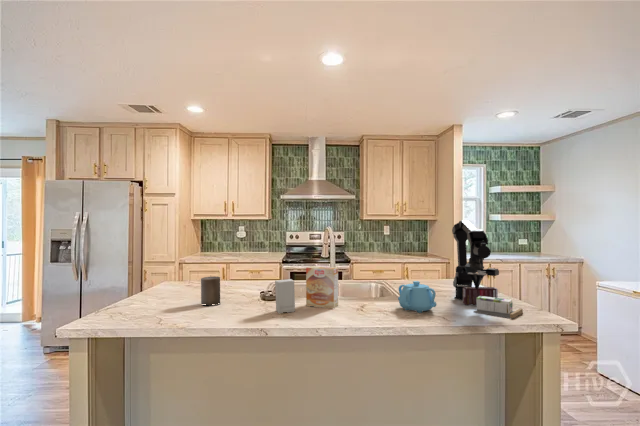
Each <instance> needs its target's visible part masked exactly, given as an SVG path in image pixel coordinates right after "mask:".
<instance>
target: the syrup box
mask: <svg viewBox="0 0 640 426" xmlns="http://www.w3.org/2000/svg"><path fill="white" fill-rule="evenodd" d="M476 304H477V305H476V310H484V311H491V312H498V313H506V314H510V313H511V312H512V311H513V308H514V305H513V300H512V299H511V298H510V299H508V298H501V297H498V298H494V297H486V296H479V297H477V298H476Z"/></svg>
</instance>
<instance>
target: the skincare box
mask: <svg viewBox="0 0 640 426" xmlns="http://www.w3.org/2000/svg"><path fill="white" fill-rule="evenodd" d="M274 284H275V285H274V288H275V311H276V312H277V314H284V313H283V312H287V313H294V311H295V312H296V304H295V303H296V301H295V299H296V298H295V297H296V296H295V294H296V293H295V292H296V291H295V280H293V279H292V278H288V279H279V280H277V279H276V280H274Z"/></svg>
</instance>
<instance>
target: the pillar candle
mask: <svg viewBox="0 0 640 426" xmlns="http://www.w3.org/2000/svg"><path fill="white" fill-rule="evenodd" d="M200 303H201V304H206V305H212V304H218V303H220V304H221V277H220V276H204V277H200ZM201 304H200V305H201Z"/></svg>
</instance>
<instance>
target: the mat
mask: <svg viewBox="0 0 640 426" xmlns="http://www.w3.org/2000/svg"><path fill="white" fill-rule="evenodd" d="M523 311H524V310H523V308H518V309H516V310H514V311H513V310H512V312H511V313H510V314H506V313H498V312H491V311H484V310H477V309H476V310H473V313H476V314H477V313H478V314H484V315H487V316H494V317H500V318H506V319H510V318H511V320H513V319H515V317H516V318H517V317H520V316H521V315H523V314H522V313H524V312H523Z"/></svg>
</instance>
